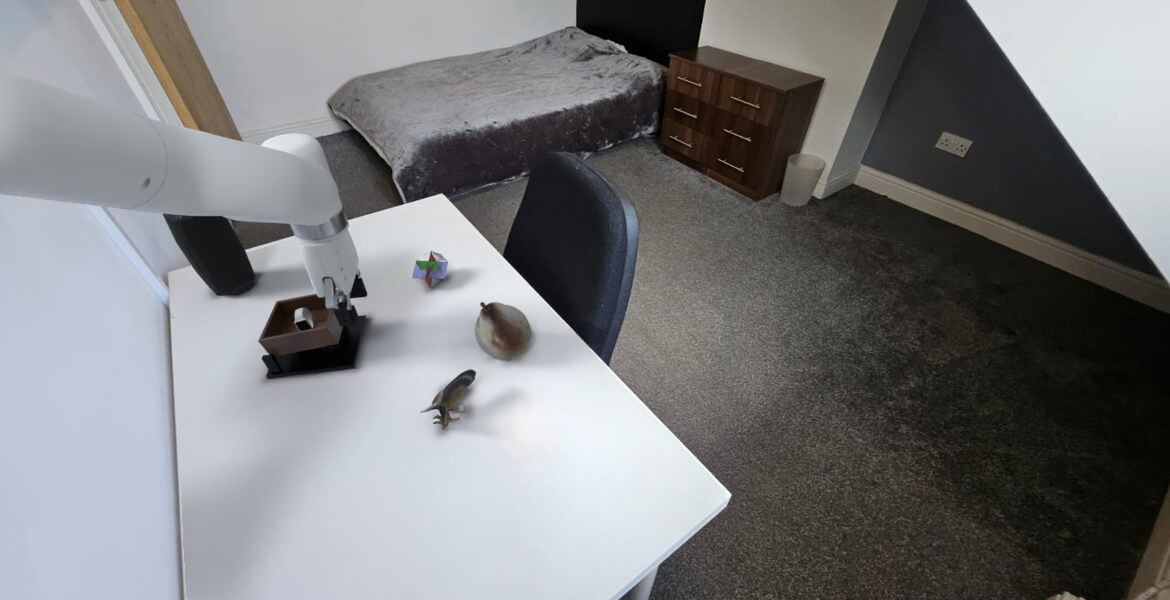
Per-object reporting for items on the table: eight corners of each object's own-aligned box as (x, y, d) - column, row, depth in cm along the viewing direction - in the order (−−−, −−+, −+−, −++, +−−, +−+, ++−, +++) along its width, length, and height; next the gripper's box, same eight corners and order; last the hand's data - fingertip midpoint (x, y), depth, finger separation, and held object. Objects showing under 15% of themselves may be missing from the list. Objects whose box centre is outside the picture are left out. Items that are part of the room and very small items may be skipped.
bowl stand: (267, 379, 79) (255, 360, 76) (289, 326, 89) (279, 308, 86) (355, 368, 81) (347, 350, 78) (367, 318, 91) (360, 300, 88)
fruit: (468, 345, 86) (458, 295, 78) (511, 322, 91) (505, 273, 83) (500, 378, 81) (492, 328, 73) (543, 352, 85) (541, 302, 78)
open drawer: (271, 357, 78) (250, 331, 74) (288, 317, 86) (269, 291, 82) (357, 340, 79) (341, 314, 75) (366, 301, 87) (352, 276, 83)
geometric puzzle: (441, 290, 95) (441, 250, 94) (407, 289, 95) (407, 249, 94) (451, 288, 102) (452, 251, 101) (419, 287, 102) (420, 250, 101)
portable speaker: (265, 270, 101) (221, 187, 89) (250, 298, 95) (200, 213, 82) (221, 273, 100) (171, 190, 87) (203, 302, 93) (145, 216, 80)
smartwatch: (305, 321, 83) (293, 305, 80) (317, 318, 83) (306, 302, 81) (302, 335, 80) (290, 319, 78) (315, 332, 81) (304, 316, 78)
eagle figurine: (478, 429, 72) (488, 376, 77) (444, 410, 67) (457, 356, 73) (442, 437, 75) (454, 387, 81) (408, 420, 70) (423, 368, 76)
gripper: (306, 194, 75) (341, 281, 87) (273, 257, 63) (320, 349, 74) (355, 191, 77) (383, 277, 88) (333, 252, 64) (369, 343, 76)
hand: (354, 309), depth 81 cm, fingers open, 6 cm apart
